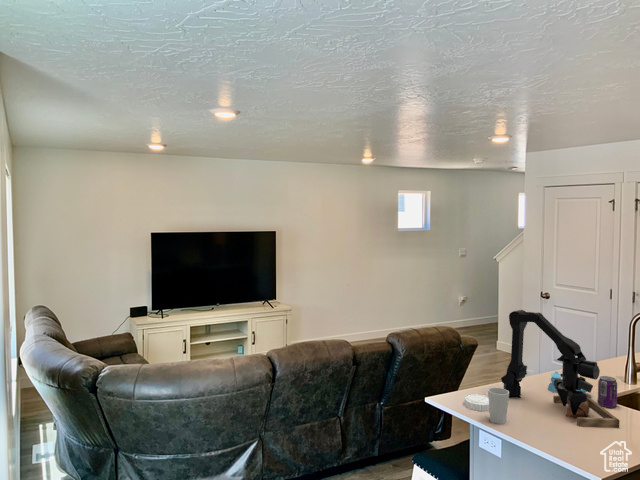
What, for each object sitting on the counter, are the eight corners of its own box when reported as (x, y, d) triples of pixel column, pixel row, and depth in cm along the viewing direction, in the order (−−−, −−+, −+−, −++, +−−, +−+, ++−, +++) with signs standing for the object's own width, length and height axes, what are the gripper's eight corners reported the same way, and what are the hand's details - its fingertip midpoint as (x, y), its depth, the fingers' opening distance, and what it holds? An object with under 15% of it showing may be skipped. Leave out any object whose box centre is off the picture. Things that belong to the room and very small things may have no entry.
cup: (508, 418, 192) (508, 388, 192) (509, 425, 185) (509, 395, 184) (487, 415, 195) (487, 386, 194) (487, 423, 187) (488, 393, 187)
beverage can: (619, 409, 202) (620, 381, 201) (601, 407, 203) (602, 380, 203) (612, 403, 208) (613, 376, 208) (595, 401, 210) (595, 375, 210)
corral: (578, 426, 184) (579, 418, 184) (553, 402, 209) (553, 395, 209) (619, 427, 183) (619, 420, 183) (588, 403, 208) (588, 396, 208)
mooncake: (475, 399, 213) (475, 391, 213) (499, 407, 204) (499, 399, 204) (458, 405, 206) (458, 397, 206) (482, 414, 197) (482, 405, 196)
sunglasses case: (566, 402, 209) (575, 390, 207) (582, 413, 206) (591, 401, 204) (564, 416, 194) (574, 404, 192) (580, 428, 191) (590, 416, 189)
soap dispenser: (592, 394, 219) (593, 375, 219) (589, 401, 211) (590, 381, 211) (550, 386, 230) (551, 368, 230) (545, 392, 222) (546, 373, 222)
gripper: (601, 381, 186) (600, 420, 187) (580, 367, 205) (579, 402, 205) (572, 380, 187) (571, 419, 188) (553, 366, 206) (552, 401, 206)
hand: (569, 410), depth 197 cm, fingers open, 9 cm apart
